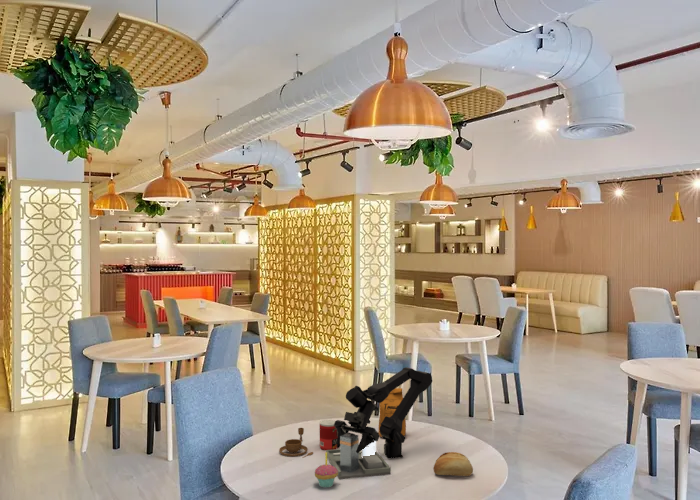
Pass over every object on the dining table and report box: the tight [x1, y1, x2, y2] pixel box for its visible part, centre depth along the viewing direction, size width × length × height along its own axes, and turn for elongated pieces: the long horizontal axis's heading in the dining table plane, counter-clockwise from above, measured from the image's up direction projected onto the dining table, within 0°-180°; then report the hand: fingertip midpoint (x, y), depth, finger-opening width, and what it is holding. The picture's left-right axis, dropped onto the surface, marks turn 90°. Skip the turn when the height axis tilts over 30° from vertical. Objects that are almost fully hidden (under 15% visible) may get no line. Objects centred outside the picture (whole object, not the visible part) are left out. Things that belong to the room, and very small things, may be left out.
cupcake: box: [314, 452, 338, 488], centre depth 216 cm, size 9×8×12 cm
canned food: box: [319, 419, 338, 451], centre depth 255 cm, size 8×8×11 cm
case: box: [325, 448, 392, 480], centre depth 236 cm, size 20×26×4 cm
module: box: [339, 432, 360, 473], centre depth 228 cm, size 5×5×14 cm
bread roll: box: [432, 451, 474, 477], centre depth 226 cm, size 10×15×8 cm, turn 91°
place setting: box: [278, 427, 314, 459], centre depth 254 cm, size 18×20×6 cm
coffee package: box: [377, 387, 407, 438], centre depth 270 cm, size 10×12×22 cm
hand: (347, 450), depth 227 cm, fingers open, 9 cm apart
